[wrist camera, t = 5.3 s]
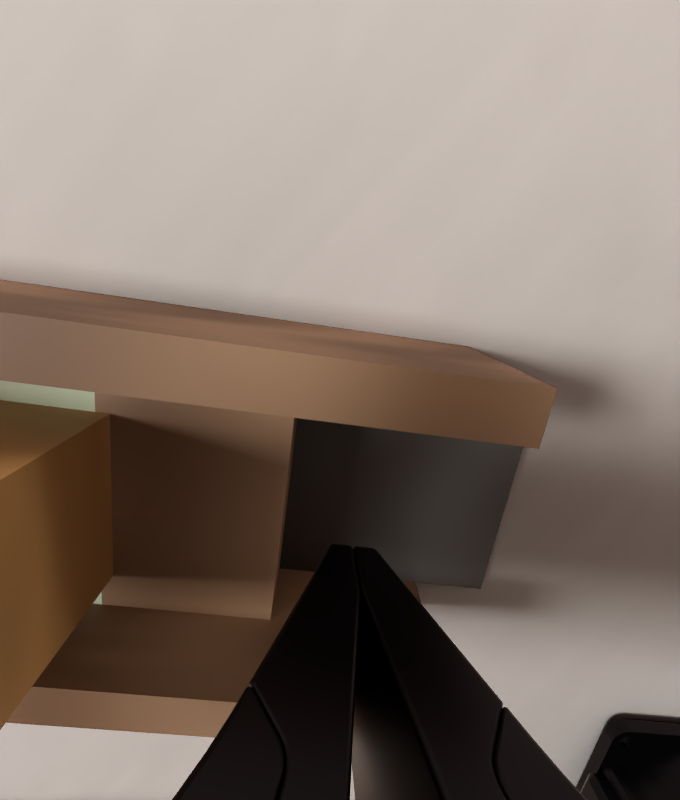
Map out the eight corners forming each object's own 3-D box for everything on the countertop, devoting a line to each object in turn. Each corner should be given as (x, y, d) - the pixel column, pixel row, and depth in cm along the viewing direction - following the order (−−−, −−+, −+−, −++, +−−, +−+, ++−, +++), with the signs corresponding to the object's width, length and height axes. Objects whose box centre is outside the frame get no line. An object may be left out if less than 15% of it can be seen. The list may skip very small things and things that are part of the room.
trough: (545, 357, 10) (680, 405, 6) (470, 610, 12) (534, 760, 8) (-327, 233, 9) (-852, 193, 5) (-230, 542, 11) (-534, 683, 7)
